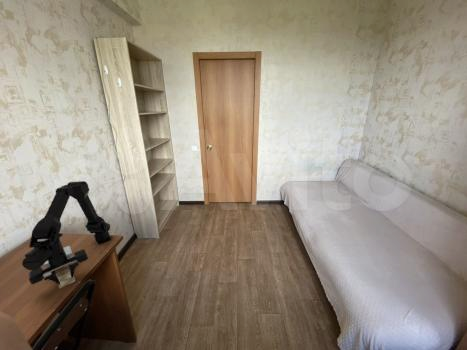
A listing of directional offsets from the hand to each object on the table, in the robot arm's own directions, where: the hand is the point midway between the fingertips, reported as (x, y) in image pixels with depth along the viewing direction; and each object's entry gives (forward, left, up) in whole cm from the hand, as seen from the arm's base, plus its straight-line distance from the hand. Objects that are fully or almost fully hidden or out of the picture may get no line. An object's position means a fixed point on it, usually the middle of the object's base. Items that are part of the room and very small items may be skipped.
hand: (66, 280), depth 88 cm
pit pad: (0, -22, -2) cm, 22 cm away
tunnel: (0, -14, -2) cm, 14 cm away
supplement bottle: (+4, -35, -2) cm, 35 cm away
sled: (0, -7, -2) cm, 7 cm away
